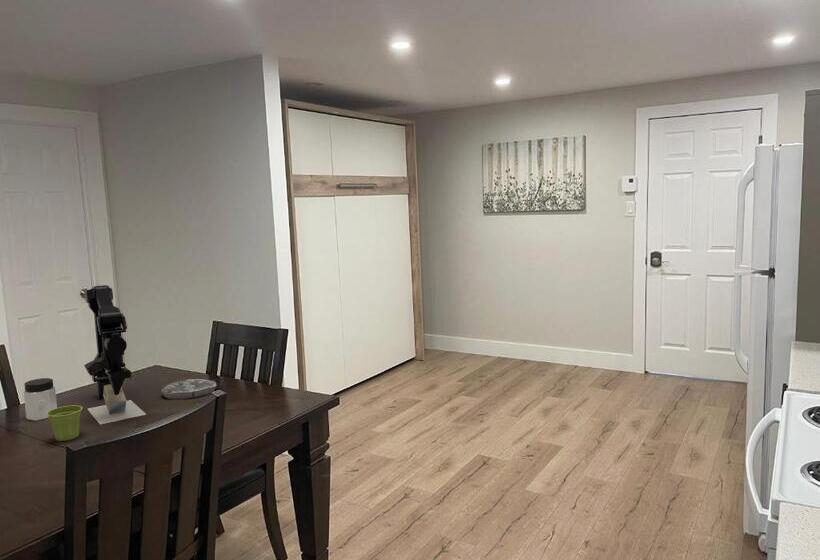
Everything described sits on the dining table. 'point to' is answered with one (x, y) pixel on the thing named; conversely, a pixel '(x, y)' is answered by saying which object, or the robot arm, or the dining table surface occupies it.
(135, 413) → the grey mat
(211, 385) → the brain slice
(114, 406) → the birch block
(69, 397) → the dining table surface
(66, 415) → the plant pot
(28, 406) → the jar
